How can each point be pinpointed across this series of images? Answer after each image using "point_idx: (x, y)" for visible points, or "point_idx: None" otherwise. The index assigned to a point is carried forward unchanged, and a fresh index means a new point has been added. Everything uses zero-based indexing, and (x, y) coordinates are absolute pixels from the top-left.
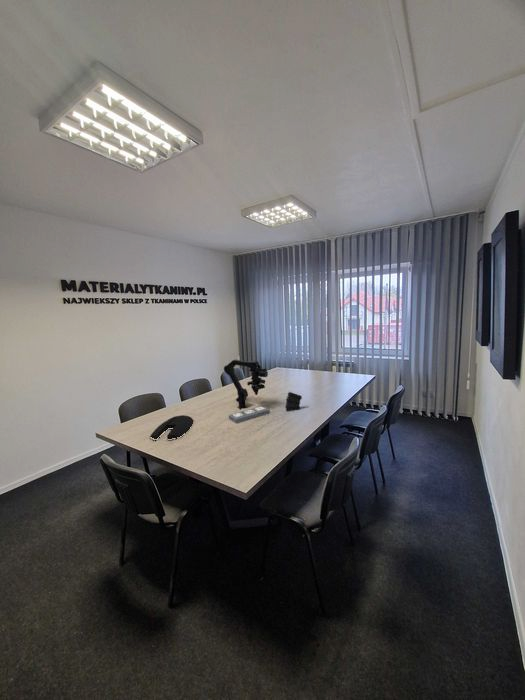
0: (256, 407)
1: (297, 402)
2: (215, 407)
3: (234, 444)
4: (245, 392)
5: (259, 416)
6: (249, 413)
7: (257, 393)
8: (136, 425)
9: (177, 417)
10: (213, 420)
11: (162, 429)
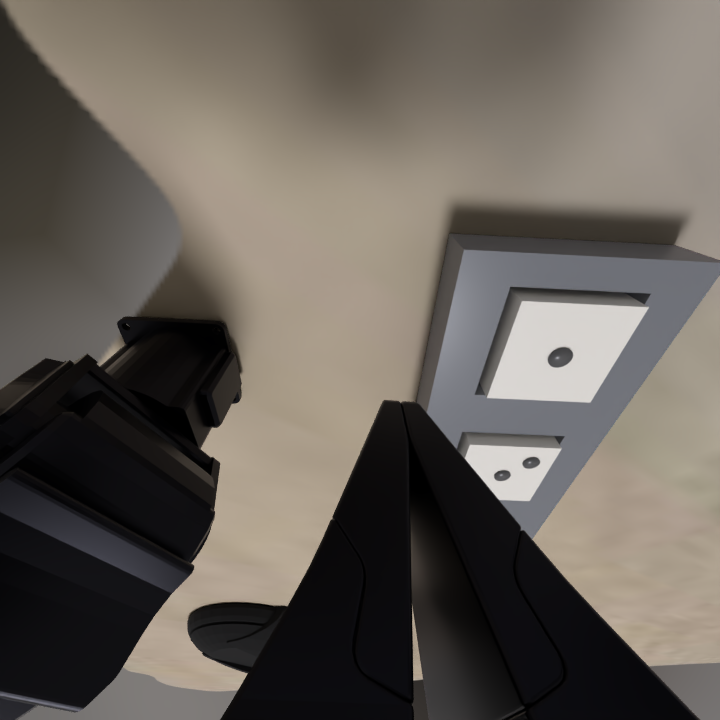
0: (447, 340)
1: None
2: None
3: (668, 604)
4: (74, 558)
5: None
6: (533, 488)
7: (446, 443)
8: (182, 667)
9: (232, 658)
10: None
11: None
